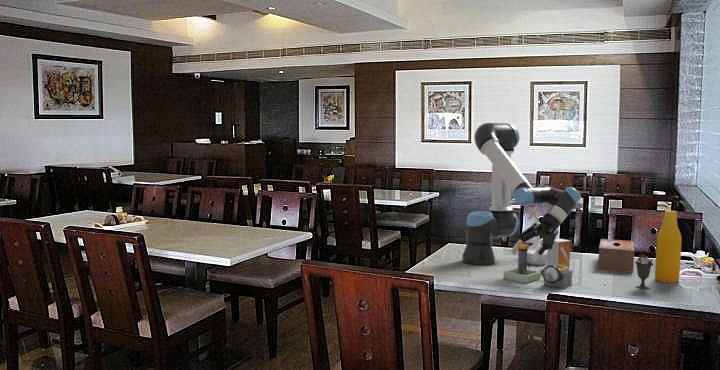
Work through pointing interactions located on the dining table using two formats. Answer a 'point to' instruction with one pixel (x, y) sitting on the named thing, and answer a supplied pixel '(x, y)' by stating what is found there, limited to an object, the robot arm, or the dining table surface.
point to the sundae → (643, 269)
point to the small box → (559, 253)
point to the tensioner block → (557, 276)
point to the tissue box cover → (616, 255)
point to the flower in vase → (537, 238)
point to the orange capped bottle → (522, 258)
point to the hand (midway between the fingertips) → (522, 256)
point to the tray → (528, 278)
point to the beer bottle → (668, 249)
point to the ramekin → (540, 260)
